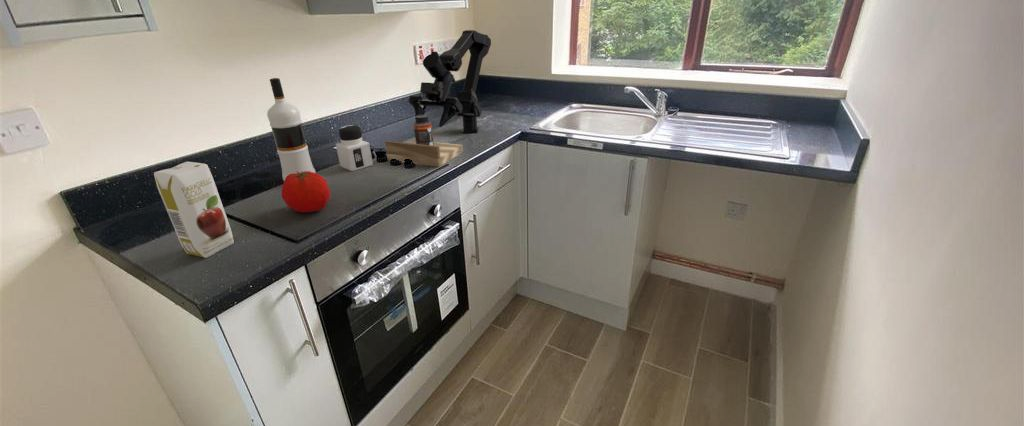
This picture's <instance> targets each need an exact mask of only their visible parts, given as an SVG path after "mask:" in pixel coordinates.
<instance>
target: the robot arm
mask: <svg viewBox="0 0 1024 426" xmlns="http://www.w3.org/2000/svg"><path fill="white" fill-rule="evenodd" d="M461 33H462V34H461V36H459V38H458V39H457V40H456V42H455V43H454V44H453V45H452V47H451V48H450V49H448V50H445V51H444V52H442V53H441V54H439V53H438V52H437V51H431V52H430V54H427V56H425V57H424V58H423V60H422V65H423V67H424V69H425V70H426V71H427V73H429V75H430V76H431V77H432V78H433V79H434V80H433V82H424V81H423V82H420V89H419V92H420V93H421V94H424V96H425V98H427V99H424V98H423V97H422V95H415V94H413V95H410V96H409V98H408V101H407V102H408V103H409V104H410V105H411V106H412V108H414V113H415V114H414V116H415V118H414V119H415V120H416V116H417V115H426V114H425V113H426V109H427V107H436V108H443V111H442V113H441V117H440V120H439V123H438V126H439V127H440V128H442V127H443V126H444V125H446V123H448V122H449V121H450V120H451V119H452V118H453V117H455V116H457V117H461V119H462V130H461V133H462V134H463V133H464V134H466V133H467V134H469V133H473V134H474V133H475V134H476V133H478V132H479V130H480V127H478V119H477V118H479V117H481V115H482V113H483V112H482V108H481V106H480V105H479V104H478V102H479V100H478V97H477V94H476V93H477V92H476V91H477V86H478V82H479V78H480V73H481V69H482V65H483V64H482V63H483V59H484V58H485V57H486V56H487V55H488V54H489V51H490V48H491V45H492V39H491V37H489V36H488V35H489V34H485V33H481V32H478V31H477V30H475V29H474V30H473V29H471V30H470V29H467V30H463V31H462V32H461ZM468 51H469V54H470V55H469V61H468V65H467V66H468V67H467V71H466V75H465V78H464V79H465V81H464V84H463V89H462V90H461V91H460V90H458V91H457V92H456V97H450V95H451V93H450V88H451V85H452V83H456V79H455V76H454V74H452V72H459V71H460V68H461V67H462V65H463V60H462V59H463V57H465V55H466V53H467V52H468Z"/></svg>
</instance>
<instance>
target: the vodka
mask: <svg viewBox="0 0 1024 426" xmlns="http://www.w3.org/2000/svg"><path fill="white" fill-rule="evenodd" d="M269 82H270V83H269V84H270V86H271V90H272V93H273V98H274V101H275V102H274V104H272V106H270V108H269V109H268V110H267V112H266V115H267V118H268V121H269V126H270V127H271V131H272V135H273V137H274V138H273V140H274V143H275V146H276V149H277V150H276V152H277V154H278V157H279V161H280V166H281V173H282V174H281V175H282V176H281V177H282V180H283V182H284V181H285V179H286V177H287V176H288V175H290V174H295V173H297V172H299V173H301V172H304V171H310V172H314V173H316V174H317V171H316V169H315V167H314V165H313V163H312V159H311V156H310V152H309V146H308V145H307V141H306V137H305V133H304V129H303V124H302V119H301V113H300V110H299V109H298V107H297V106H295V105H294V104H291V103H289V102H287V101H286V98H285V95H284V90H283V87H282V83H281V79H280V78H278V77H272V78H270V79H269ZM296 171H297V172H296Z"/></svg>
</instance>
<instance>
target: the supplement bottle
mask: <svg viewBox="0 0 1024 426" xmlns="http://www.w3.org/2000/svg"><path fill="white" fill-rule="evenodd" d="M413 132H414V140H416V144H423V145H433V146H434V142H435V139H434V134H433V124H432V122H431V121H430V120H429V116H428V114H424V115H417V116H416V119H415V122H414V123H413Z"/></svg>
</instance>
